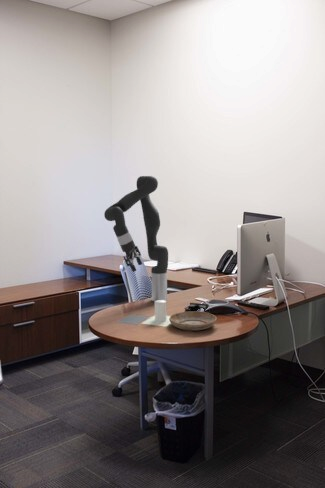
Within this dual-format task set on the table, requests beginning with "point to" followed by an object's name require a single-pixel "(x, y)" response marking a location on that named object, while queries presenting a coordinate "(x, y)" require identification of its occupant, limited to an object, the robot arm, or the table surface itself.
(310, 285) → the table surface
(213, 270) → the table surface
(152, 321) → the board
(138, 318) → the mat
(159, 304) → the white lidded canister
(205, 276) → the table surface
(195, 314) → the ceramic bowl
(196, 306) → the end cap
